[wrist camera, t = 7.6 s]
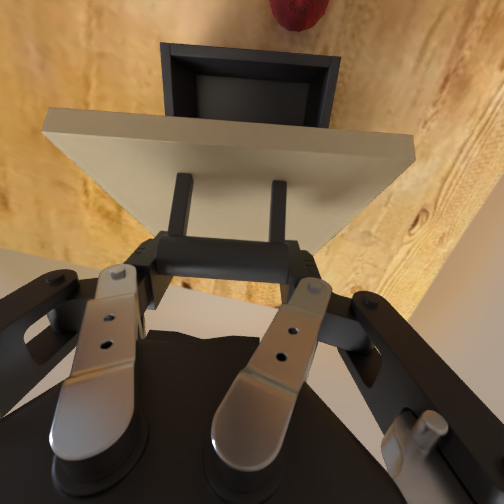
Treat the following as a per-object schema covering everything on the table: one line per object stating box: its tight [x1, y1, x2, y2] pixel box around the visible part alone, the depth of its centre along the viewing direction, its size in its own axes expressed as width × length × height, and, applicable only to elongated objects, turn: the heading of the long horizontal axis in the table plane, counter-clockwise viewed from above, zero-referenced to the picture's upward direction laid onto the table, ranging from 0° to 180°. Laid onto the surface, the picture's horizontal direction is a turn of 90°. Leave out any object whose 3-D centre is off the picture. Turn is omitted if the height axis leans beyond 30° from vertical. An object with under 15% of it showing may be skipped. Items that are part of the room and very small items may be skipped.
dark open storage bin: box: [160, 42, 341, 128], centre depth 29 cm, size 18×15×10 cm
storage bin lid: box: [41, 107, 416, 284], centre depth 18 cm, size 19×15×6 cm
